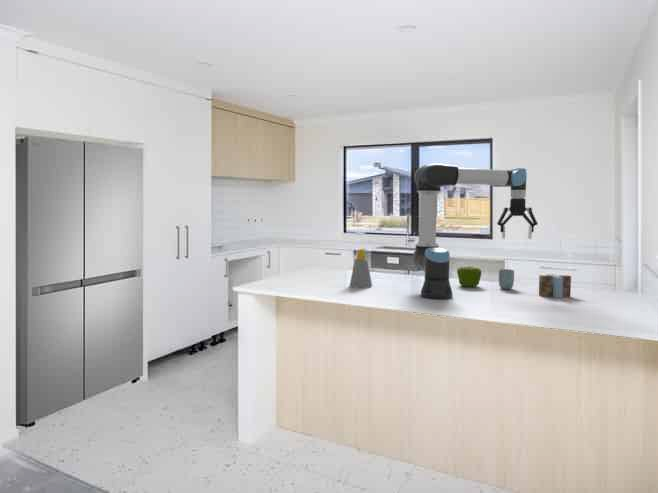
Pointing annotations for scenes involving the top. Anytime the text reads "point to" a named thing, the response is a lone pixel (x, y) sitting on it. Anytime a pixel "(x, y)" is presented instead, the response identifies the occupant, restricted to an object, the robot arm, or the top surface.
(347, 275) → the top surface
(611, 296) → the top surface
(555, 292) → the grey tunnel block
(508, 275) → the cup
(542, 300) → the top surface
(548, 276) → the brown u-shaped block
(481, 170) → the robot arm
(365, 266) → the soap bottle
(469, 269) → the green rounded piece
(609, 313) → the top surface
